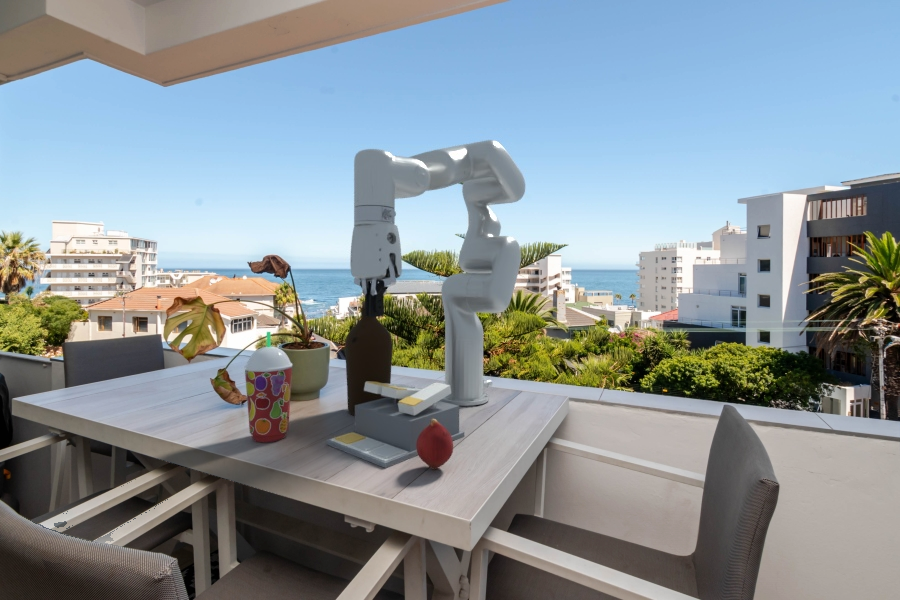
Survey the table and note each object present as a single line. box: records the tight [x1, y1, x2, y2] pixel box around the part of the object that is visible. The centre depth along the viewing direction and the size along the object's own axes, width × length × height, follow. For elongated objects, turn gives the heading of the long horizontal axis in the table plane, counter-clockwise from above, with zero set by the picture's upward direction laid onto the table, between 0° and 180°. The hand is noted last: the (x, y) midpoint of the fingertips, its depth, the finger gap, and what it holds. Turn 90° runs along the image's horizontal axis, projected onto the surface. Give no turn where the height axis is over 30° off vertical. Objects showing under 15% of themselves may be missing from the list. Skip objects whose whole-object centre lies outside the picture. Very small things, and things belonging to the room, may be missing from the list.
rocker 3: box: [398, 381, 451, 416], centre depth 84 cm, size 10×4×3 cm, turn 140°
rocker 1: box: [364, 381, 416, 399], centre depth 90 cm, size 10×4×3 cm, turn 140°
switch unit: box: [325, 397, 465, 469], centre depth 85 cm, size 20×16×7 cm
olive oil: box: [344, 300, 393, 416], centre depth 104 cm, size 11×11×25 cm
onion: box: [416, 419, 454, 470], centre depth 72 cm, size 6×6×8 cm
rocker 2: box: [381, 385, 423, 401], centre depth 87 cm, size 10×4×3 cm, turn 140°
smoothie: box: [244, 331, 293, 443], centre depth 86 cm, size 8×8×20 cm
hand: (374, 316), depth 87 cm, fingers closed
